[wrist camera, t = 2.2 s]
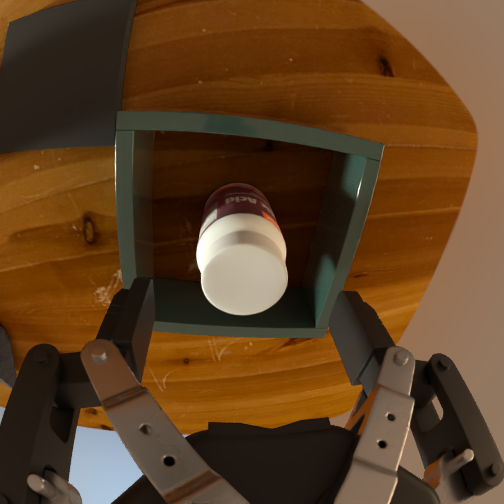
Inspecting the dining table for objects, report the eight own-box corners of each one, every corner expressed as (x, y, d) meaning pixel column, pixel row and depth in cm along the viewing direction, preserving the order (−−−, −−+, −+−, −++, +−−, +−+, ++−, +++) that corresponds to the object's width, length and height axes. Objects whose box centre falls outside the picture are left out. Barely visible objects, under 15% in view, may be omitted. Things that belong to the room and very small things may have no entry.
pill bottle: (282, 198, 20) (316, 259, 13) (251, 252, 22) (266, 331, 15) (220, 169, 19) (218, 218, 12) (192, 229, 21) (178, 304, 13)
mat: (15, 23, 10) (8, 22, 9) (139, -6, 12) (135, -10, 11) (5, 151, 15) (-2, 154, 15) (119, 143, 17) (114, 146, 16)
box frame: (142, 107, 16) (116, 111, 12) (350, 132, 18) (385, 144, 14) (143, 286, 23) (129, 328, 18) (308, 296, 25) (324, 337, 20)
